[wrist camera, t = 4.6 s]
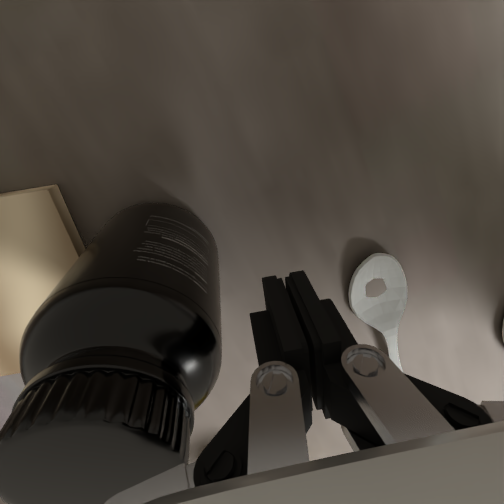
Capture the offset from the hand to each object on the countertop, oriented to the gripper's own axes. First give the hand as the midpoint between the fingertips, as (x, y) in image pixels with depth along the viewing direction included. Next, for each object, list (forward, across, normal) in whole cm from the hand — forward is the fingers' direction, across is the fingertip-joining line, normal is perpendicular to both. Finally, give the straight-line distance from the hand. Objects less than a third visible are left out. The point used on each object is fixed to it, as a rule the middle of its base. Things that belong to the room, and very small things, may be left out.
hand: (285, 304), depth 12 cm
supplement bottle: (+7, +6, 0) cm, 9 cm away
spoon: (+7, -9, +12) cm, 17 cm away
